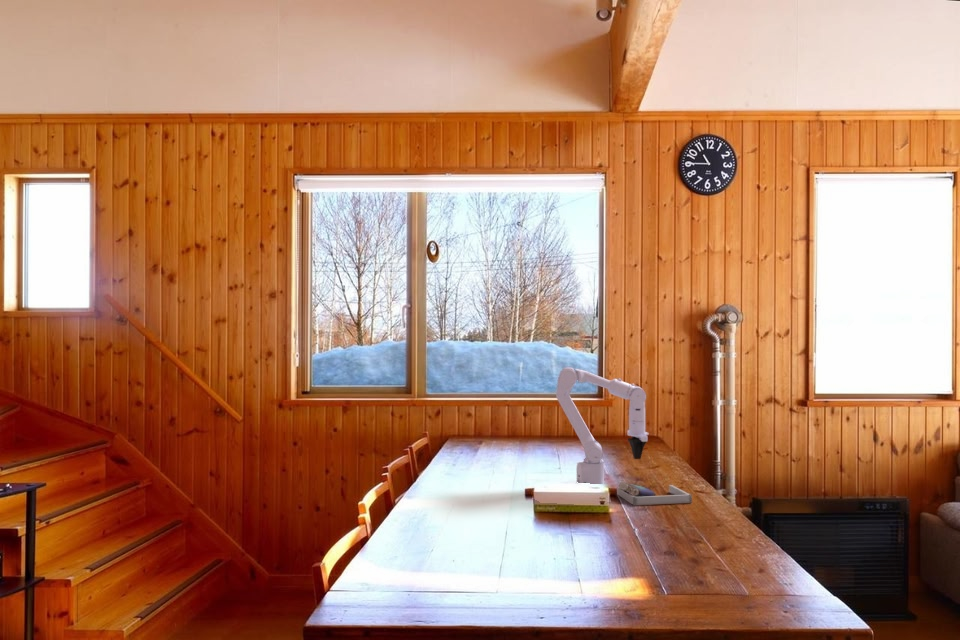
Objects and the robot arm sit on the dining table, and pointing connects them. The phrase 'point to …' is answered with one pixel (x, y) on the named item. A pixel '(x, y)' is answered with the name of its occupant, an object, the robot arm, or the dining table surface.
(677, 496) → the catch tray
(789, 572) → the dining table surface
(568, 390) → the robot arm
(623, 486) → the flask
